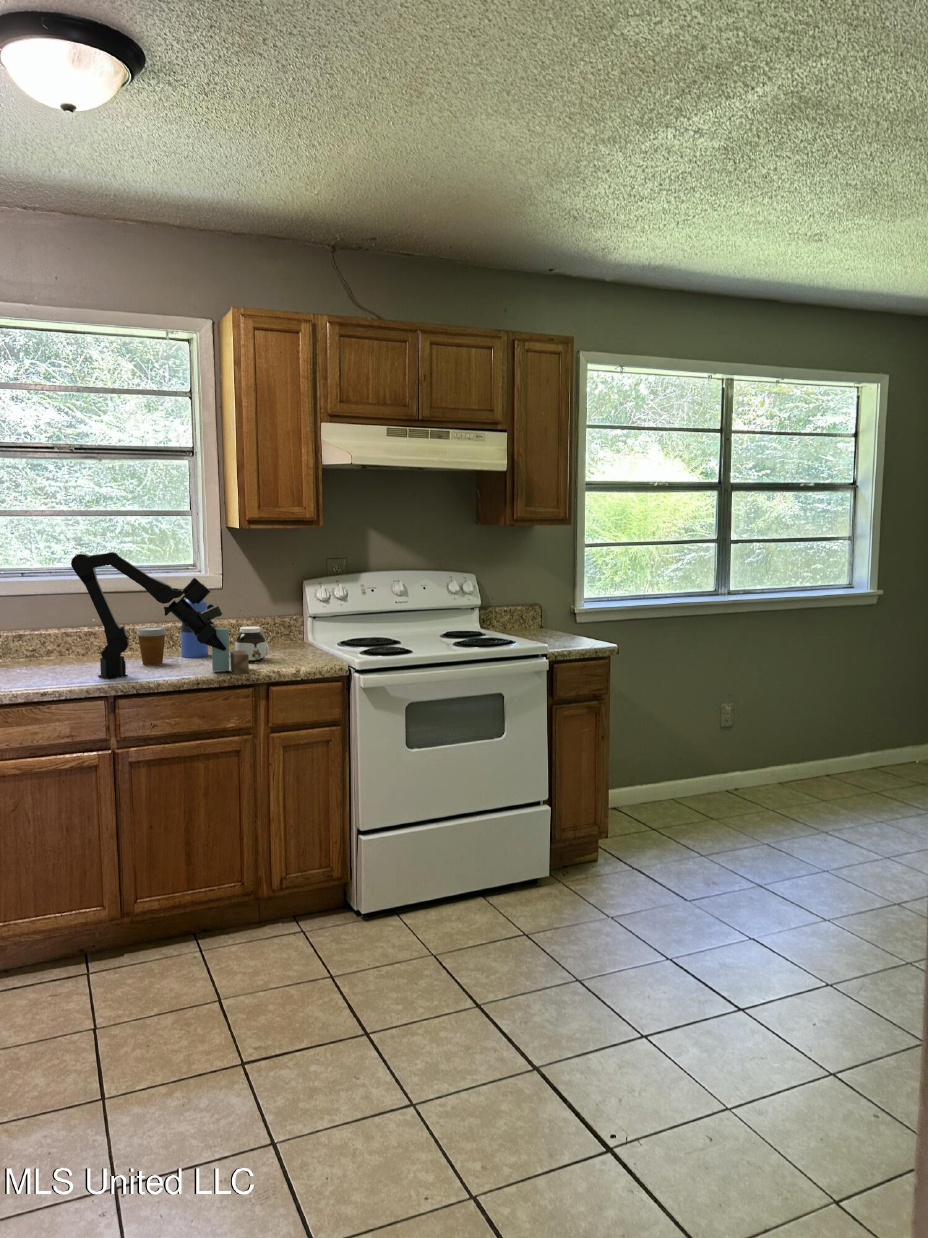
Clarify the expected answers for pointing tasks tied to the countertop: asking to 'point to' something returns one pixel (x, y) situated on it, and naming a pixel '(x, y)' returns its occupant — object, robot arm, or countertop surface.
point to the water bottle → (193, 638)
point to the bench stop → (239, 662)
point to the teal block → (218, 656)
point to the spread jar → (252, 643)
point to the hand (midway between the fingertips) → (224, 648)
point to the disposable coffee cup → (151, 644)
